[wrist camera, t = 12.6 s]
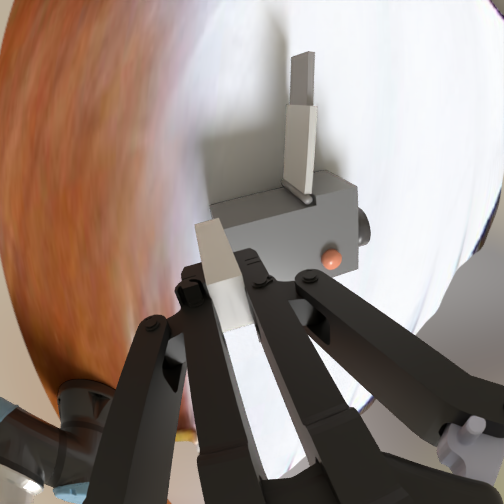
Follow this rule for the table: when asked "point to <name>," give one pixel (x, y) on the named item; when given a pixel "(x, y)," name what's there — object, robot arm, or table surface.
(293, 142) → the side door
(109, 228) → the table surface
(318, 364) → the robot arm
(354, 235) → the housing
